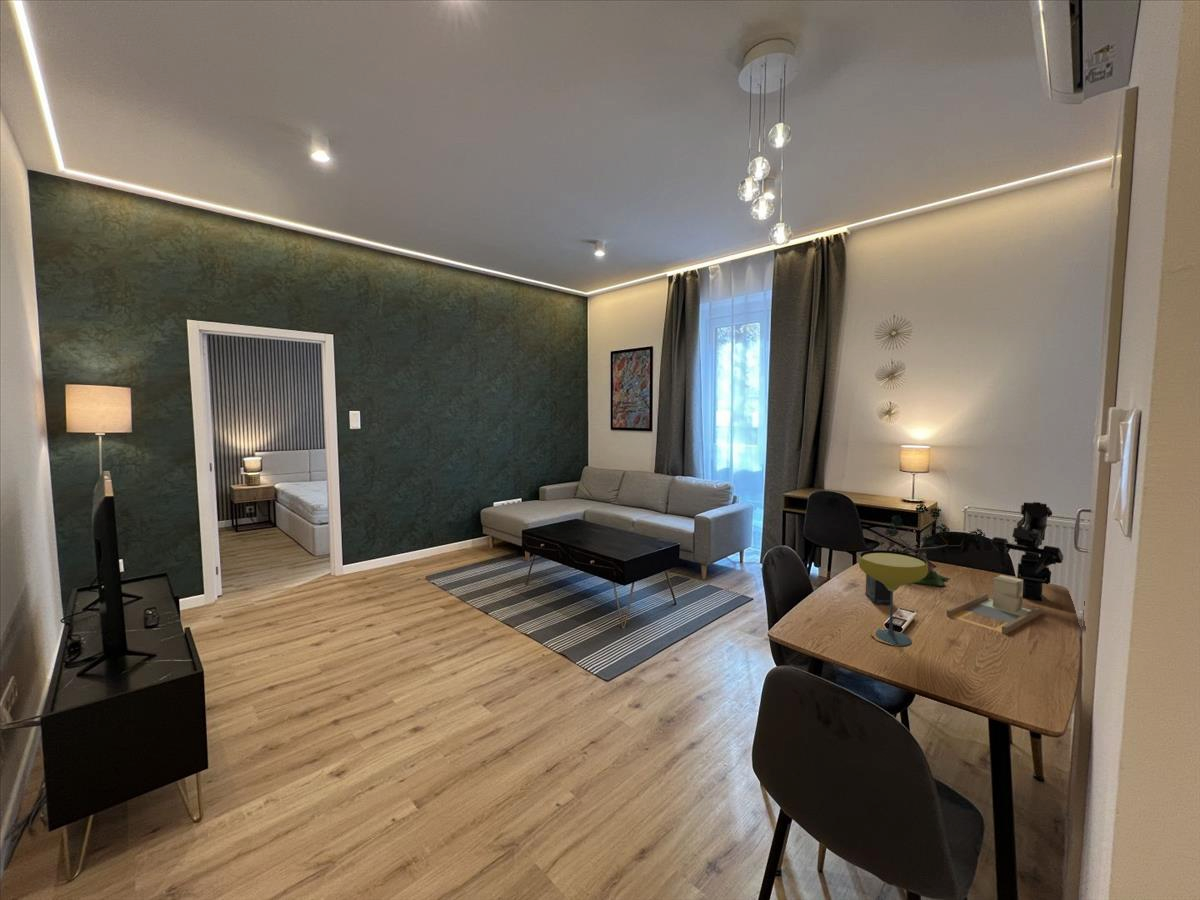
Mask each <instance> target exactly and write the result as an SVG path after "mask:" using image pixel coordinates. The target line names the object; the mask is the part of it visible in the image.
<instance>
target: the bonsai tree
mask: <svg viewBox="0 0 1200 900" xmlns="http://www.w3.org/2000/svg"><path fill="white" fill-rule="evenodd" d="M929 511H930V512H929ZM941 511H942V509H940V508H939V507H933V508H930V509H929V508H928V507H927V506H926V505H925V504H924V503H919V504H917V505H916V507H915V511H914V512H915V513H916V514H917V513H918V514H922V515H923V517H924V518H925V519H926V521H927V522H928V524H929V525H930V527H931V528H932V529H933V530H934V531H935V533H937V534H938V535H939V537H941V538H942V539H943V541H944V542H946V543H945V544H944V545H937V544H935V543H934V542H936V539H935V537H933V536H931V535H930V534H926V535H924V536H923V537H921V539H920V538H919V537H918V535H917V534H915V537H917V538H916V539H918V540H919V541H920V542H922V543H925V544H924V545H923V546H922V547H921V548H920V547H919V546H918V545H919V543H918V541H915V544H913V545H909V543H907V542H906V541H904V540H902V539H901V537H902V536H903V535H905V534H906V533H908V532H909V531H910V530H911V528H910V527H908V530H907V531H905V532H903V533H902V534H900V535H899V537H898V539H899V541H901V542H902V543H903V544H905V545H906V547H905V548H904V549H902V550H901V549H899V548H892V547H893V546H894V543H893V542H892V541H891V540H889V539H886V538H891V537H896V536H898V534H899V533H900V532H899V531H898V528H902V527H903V526H904V524H903V520H904V519H903V518H902V517H901V515H900V514H898V515H893V516H892V517H891V521H890V524H889V527H888V528H885V532H884V534H885V535H887V536H883V537H881V539H882V540H883V541H885V542H887V543H890V545H889V546H888V547H887V548H886V550H887V551H897V552H903V553H908V554H912V555H916V556H918V555H920V557H921V558H923V559H925V560H926V561H927V563H928V573H927V575H926V577H925V578H923V579H921V580H920V581H917V582H914V583H913V584H917V585H918V584H919V585H928V586H929V585H930V586H935V587H939V588H943V586H944V585H945V582H944V580H945V581H948V580H950V578H949V577H947V576H946V577H945V576H943V575H941V574H939V573H938V572H937V570H934V569H935V568H937V567H938V566H937V565H936V564H935V563H933V562H932V561H931V560H929V559H928V558H927V551H929V550H936V549H942V548H945V547H947V546H948V547H952V545H949V543H948V541H947V540H946V539H945V538H944V536H947V535H948V533H949V532H950V530H951V529H950V528H949V527H947V525H946V524H945V523H940V525H936V526H935V524H936V522H938V518H939V517H940V516H941V514H940V512H941ZM925 512H928V514H929V515H930V516H931V517H932V518H933V519H936V521H935V522H934V523H933V526H932V525H931V523H930V522H929V520H928V519H927V518H926V515H925V514H924V513H925ZM946 518H947V517H946ZM940 521H941V522H943V520H940ZM891 524H892V525H891ZM909 525H911V526H912V524H910V523H909ZM913 528H914V531H915V533H917V531H916V529H915V527H913ZM937 530H938V531H939V532H938V531H937ZM968 533H969V535H973V538H974V540H976V541H977V542H979V541H980V542H983V539H984V538H985V537H987V536H986V533H985V532H983V530H982V529H980V528H978V527H977V528H976V529H975V530H974V531H973V530H972V531H971V530H970V531H968ZM963 542H964V540H962V542H961V543H960V545H957V544H955V545H954V547H960V546H961V545H962V544H963ZM926 544H928V545H930V547H925V545H926ZM914 547H915V548H914ZM910 548H914V549H910ZM890 549H891V550H890ZM916 552H920V553H916Z"/></svg>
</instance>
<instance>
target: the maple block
mask: <svg viewBox="0 0 1200 900" xmlns="http://www.w3.org/2000/svg"><path fill="white" fill-rule="evenodd" d="M992 590H993V591H992V592H993V593H992V600H993V607H995V608H999V609H1003V610H1006V611H1010V612H1014V613H1015V612H1017V611H1019V610H1020V609H1022V608H1023V579H1018V578H1017V577H1014V576H1008V575H1004V574H1000V575H998V576H995V577H993V588H992Z"/></svg>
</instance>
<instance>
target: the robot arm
mask: <svg viewBox="0 0 1200 900" xmlns="http://www.w3.org/2000/svg"><path fill="white" fill-rule="evenodd" d="M1020 515H1022V518H1021V519H1020V520H1018V521H1017V523H1016V527H1013V532H1012V537H1013V538H1014V540H1013V541H1014V543H1010V542H1009V541H1008V539H1007V538H1002V537H998V536H995V537H992V539H991V541H990V543H991V545H992V547H993V549H994V551H995V552H997V553H998V554H999V558H1000V559H999V561H1000V566H1001V567H1005V564H1006V562H1007V560H1008V557H1009V552H1010V550H1013V551H1014V550H1015V551H1020V552H1024V554H1022V555H1021V558H1020V560H1019V561H1020V562H1019V563H1017V570H1016V571H1017V573H1016V578H1018V579H1023V598H1024V599H1028V600H1033V601H1038V602H1039V601H1040V602H1043V601H1044V598H1045V595H1044V594H1043V585H1045V584H1046V585H1048V584H1051V578H1052V571H1051V570H1050V568H1049V567H1050V565H1057V564H1062V563H1063V560H1064V555H1063V553H1062V550H1061V549H1060V547H1056V546H1052V545H1044V546H1043V548H1039V547H1040V546H1042V544H1043V541H1045V538H1046V537H1045V535H1046V529H1047V527H1048V523H1047V522H1048V518H1050V517H1051V516H1053V511H1052V510H1051V509H1050V507H1049V506H1048V505H1047V503H1041V502H1038V501H1036V502H1035V501H1033V502H1025V501H1024V502H1023V504H1021V506H1020Z"/></svg>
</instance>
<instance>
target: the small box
mask: <svg viewBox="0 0 1200 900" xmlns="http://www.w3.org/2000/svg"><path fill="white" fill-rule="evenodd" d="M864 592H865V594H866V595H867V596H866V595H865V596H866V597H867V598H868V599H869V601H870V602H872V603H873V605H875V604H876V605H878V606H879V605H881V606H890V595H891V591H889V590H888V589H887V588H886V586H885V585H884V584H883V583H881V582H880V581H878V580H876V579H874V578H872V577H870V576H869V575H867V574H866V573H865V591H864Z"/></svg>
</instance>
